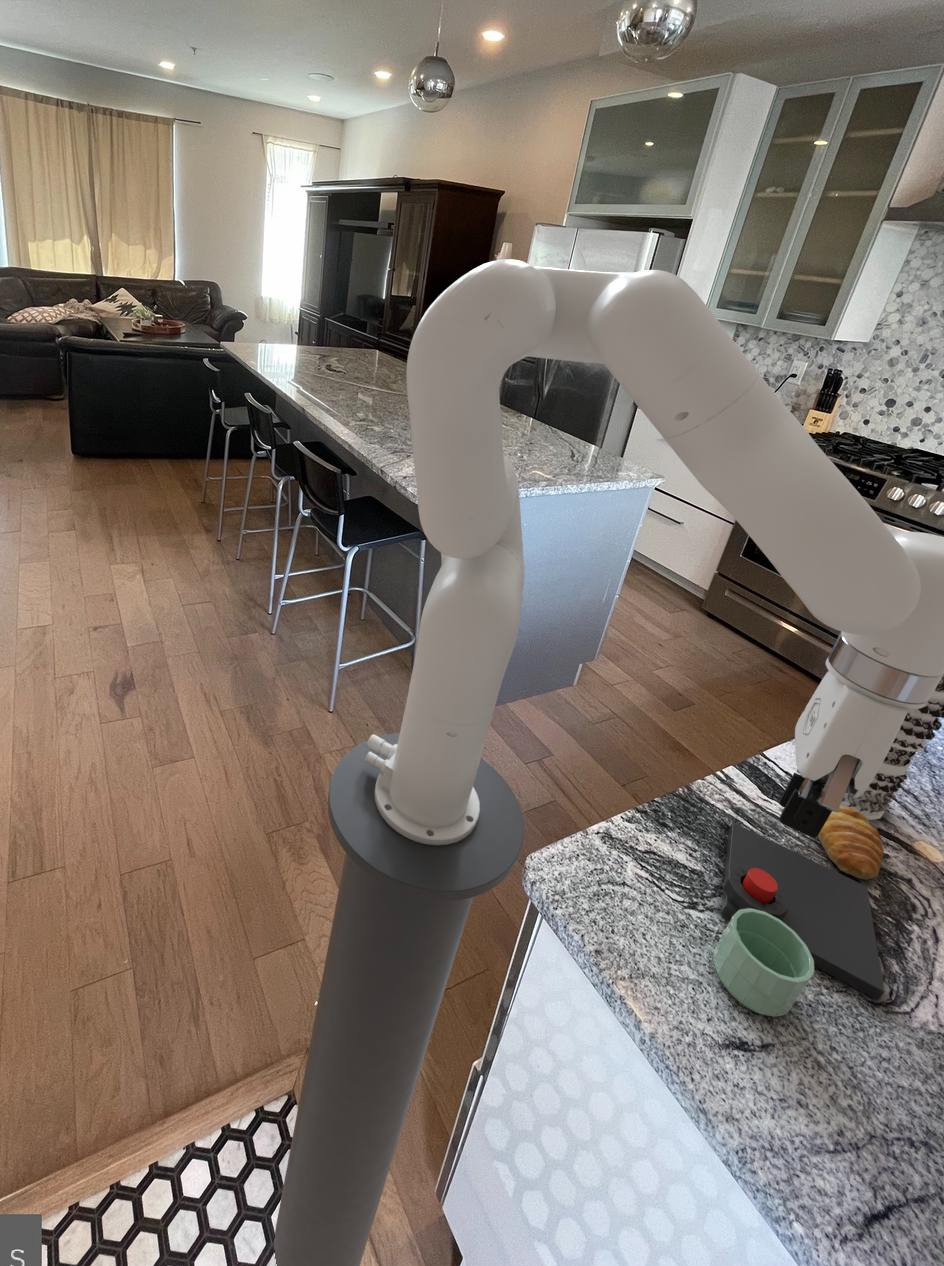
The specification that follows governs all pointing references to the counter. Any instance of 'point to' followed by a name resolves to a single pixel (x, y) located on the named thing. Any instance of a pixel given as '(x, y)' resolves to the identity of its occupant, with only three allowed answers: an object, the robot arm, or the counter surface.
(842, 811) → the pastry
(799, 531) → the robot arm
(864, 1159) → the counter surface
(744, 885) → the button
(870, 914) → the scale
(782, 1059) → the counter surface
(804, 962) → the bowl
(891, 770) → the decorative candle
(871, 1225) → the counter surface
